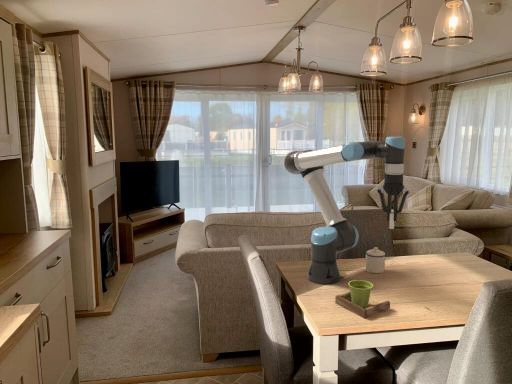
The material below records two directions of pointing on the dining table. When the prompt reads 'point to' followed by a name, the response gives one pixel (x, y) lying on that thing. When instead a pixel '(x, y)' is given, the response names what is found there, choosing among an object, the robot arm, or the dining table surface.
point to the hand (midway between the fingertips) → (391, 228)
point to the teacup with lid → (375, 260)
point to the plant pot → (360, 292)
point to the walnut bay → (344, 302)
